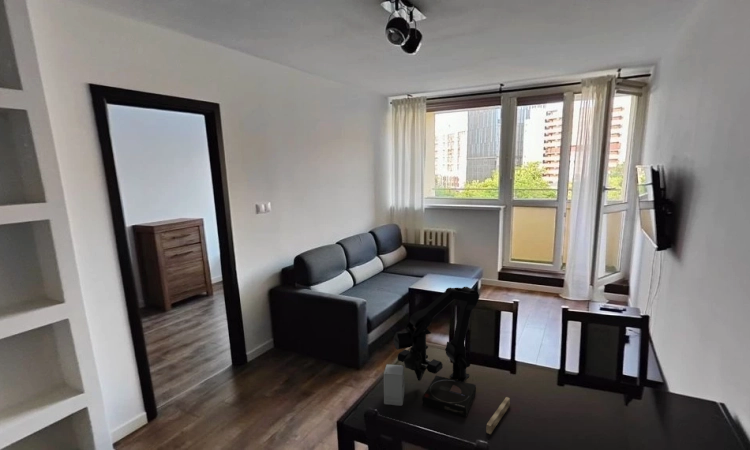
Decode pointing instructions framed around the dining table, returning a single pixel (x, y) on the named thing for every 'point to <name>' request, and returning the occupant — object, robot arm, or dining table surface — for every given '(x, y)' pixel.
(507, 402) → the oak rail
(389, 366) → the supplement box
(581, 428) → the dining table surface
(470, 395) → the portable cd player
